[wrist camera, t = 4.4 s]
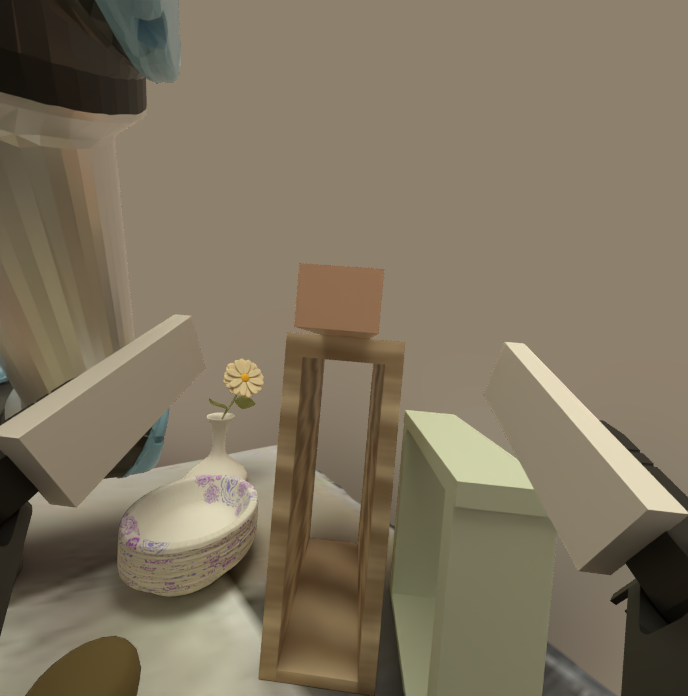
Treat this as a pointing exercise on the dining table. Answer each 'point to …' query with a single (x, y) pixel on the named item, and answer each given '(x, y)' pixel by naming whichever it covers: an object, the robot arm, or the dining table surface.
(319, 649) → the birch stand
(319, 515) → the dining table surface
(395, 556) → the pale green rectangular frame
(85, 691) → the cork
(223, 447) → the flower in vase
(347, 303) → the salmon orange bar
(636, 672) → the robot arm
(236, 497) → the paper bowls
